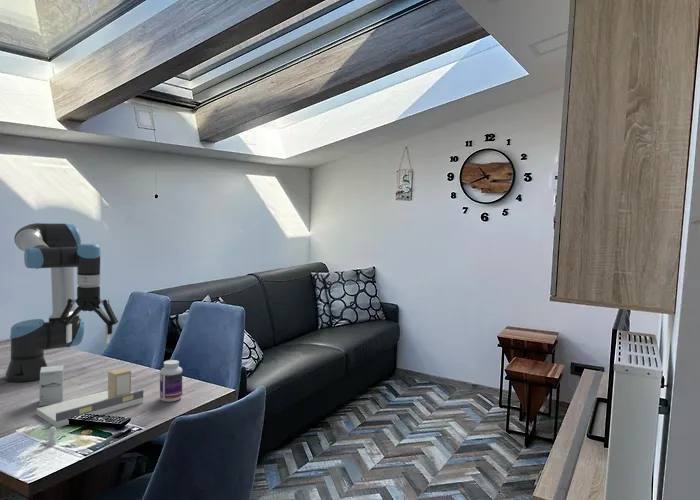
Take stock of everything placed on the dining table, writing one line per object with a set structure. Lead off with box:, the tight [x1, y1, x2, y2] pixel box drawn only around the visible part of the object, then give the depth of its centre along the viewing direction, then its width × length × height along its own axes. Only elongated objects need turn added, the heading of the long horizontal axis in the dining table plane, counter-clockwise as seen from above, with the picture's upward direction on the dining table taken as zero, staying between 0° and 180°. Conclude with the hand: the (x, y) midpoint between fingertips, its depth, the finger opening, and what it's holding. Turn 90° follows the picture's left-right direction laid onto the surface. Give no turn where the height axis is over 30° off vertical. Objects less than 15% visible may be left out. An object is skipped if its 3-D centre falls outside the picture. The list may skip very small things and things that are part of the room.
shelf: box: [36, 389, 144, 429], centre depth 178 cm, size 16×30×5 cm, turn 143°
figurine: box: [40, 425, 62, 447], centre depth 150 cm, size 8×8×6 cm
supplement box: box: [38, 364, 65, 407], centre depth 182 cm, size 7×7×13 cm
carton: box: [107, 367, 132, 399], centre depth 184 cm, size 5×6×10 cm
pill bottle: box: [159, 359, 183, 403], centre depth 190 cm, size 8×8×14 cm
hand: (88, 342), depth 185 cm, fingers open, 13 cm apart
